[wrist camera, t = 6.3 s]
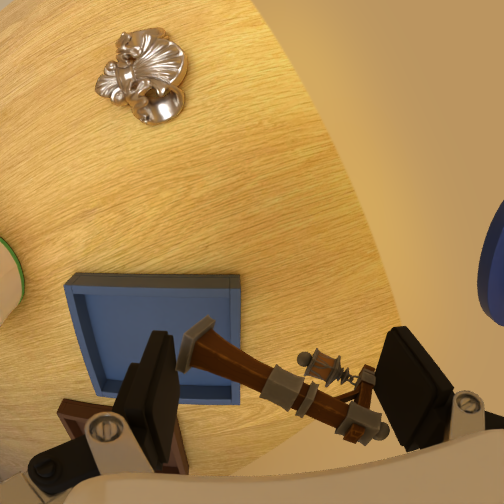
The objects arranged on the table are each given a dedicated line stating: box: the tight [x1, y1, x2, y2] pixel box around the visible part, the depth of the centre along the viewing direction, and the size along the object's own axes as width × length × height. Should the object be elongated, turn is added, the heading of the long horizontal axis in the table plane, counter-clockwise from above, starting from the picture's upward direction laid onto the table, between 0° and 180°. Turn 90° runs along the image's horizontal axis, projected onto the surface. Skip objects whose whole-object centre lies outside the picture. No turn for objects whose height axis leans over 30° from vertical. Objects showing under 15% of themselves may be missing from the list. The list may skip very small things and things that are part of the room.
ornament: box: [95, 27, 188, 125], centre depth 18 cm, size 8×7×4 cm
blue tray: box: [64, 273, 241, 405], centre depth 26 cm, size 15×13×3 cm
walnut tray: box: [57, 399, 189, 475], centre depth 31 cm, size 15×13×3 cm
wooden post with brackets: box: [175, 314, 390, 446], centre depth 11 cm, size 2×8×4 cm, turn 73°
